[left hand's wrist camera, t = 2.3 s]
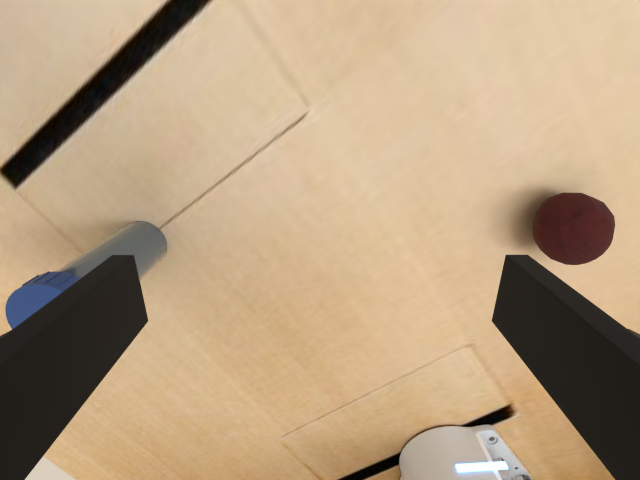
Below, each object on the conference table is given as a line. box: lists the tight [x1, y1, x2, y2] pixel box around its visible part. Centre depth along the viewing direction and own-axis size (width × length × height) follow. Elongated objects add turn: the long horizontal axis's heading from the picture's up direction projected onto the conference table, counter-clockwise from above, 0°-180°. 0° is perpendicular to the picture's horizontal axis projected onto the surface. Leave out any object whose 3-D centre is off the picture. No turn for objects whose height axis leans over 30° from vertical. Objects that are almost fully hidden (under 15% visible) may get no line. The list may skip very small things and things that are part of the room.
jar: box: [55, 222, 167, 280], centre depth 35 cm, size 6×6×16 cm
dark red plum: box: [533, 193, 615, 265], centre depth 38 cm, size 7×8×7 cm
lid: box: [6, 271, 81, 329], centre depth 28 cm, size 6×6×2 cm
